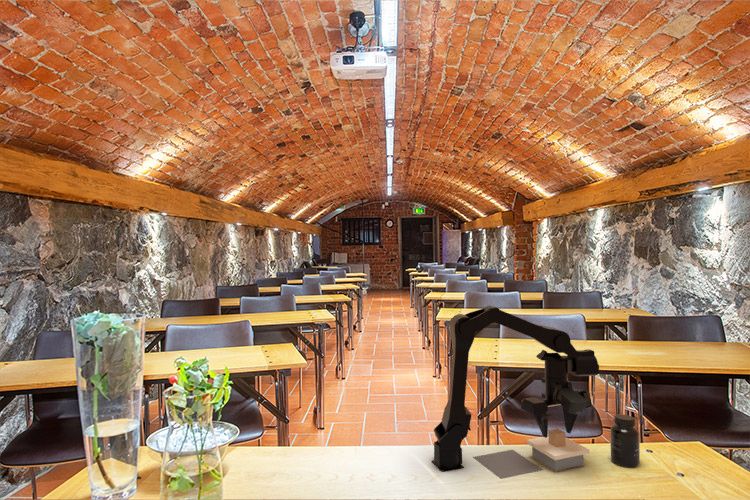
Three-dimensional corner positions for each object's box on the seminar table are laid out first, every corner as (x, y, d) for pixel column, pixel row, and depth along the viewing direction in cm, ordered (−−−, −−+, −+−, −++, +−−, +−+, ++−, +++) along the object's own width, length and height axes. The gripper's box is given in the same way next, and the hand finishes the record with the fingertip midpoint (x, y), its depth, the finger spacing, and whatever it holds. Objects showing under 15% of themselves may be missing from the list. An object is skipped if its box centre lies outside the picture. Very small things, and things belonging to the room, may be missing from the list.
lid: (554, 460, 116) (554, 442, 116) (526, 443, 126) (526, 426, 126) (589, 453, 120) (589, 435, 120) (559, 437, 130) (558, 421, 130)
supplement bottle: (643, 469, 119) (643, 422, 119) (615, 467, 120) (614, 421, 120) (634, 457, 126) (633, 413, 126) (607, 455, 127) (606, 412, 127)
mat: (500, 480, 114) (500, 478, 114) (472, 458, 126) (472, 456, 126) (543, 471, 118) (543, 469, 118) (512, 451, 131) (512, 449, 131)
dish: (555, 473, 117) (555, 457, 117) (532, 459, 126) (532, 444, 126) (583, 467, 120) (583, 452, 120) (559, 453, 129) (558, 439, 129)
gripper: (548, 388, 112) (549, 452, 112) (607, 380, 119) (608, 441, 119) (519, 376, 123) (520, 435, 123) (575, 370, 129) (576, 426, 129)
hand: (557, 435), depth 123 cm, fingers open, 7 cm apart
